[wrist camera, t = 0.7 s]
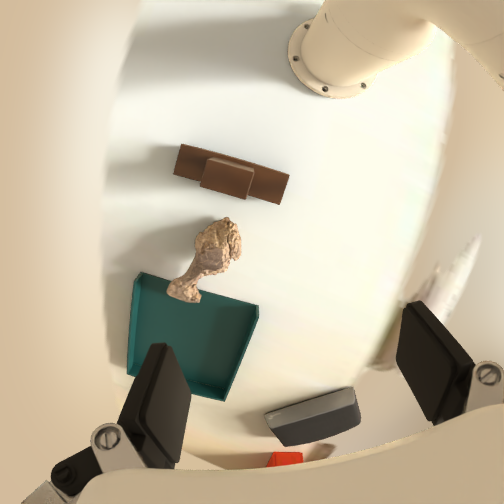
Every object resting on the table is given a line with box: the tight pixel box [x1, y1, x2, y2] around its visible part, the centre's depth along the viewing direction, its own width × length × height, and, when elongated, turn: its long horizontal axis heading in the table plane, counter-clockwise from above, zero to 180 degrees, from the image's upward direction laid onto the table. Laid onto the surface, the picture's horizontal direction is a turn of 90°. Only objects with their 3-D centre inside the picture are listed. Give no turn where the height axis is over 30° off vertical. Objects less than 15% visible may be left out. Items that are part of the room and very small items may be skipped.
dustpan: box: [127, 272, 259, 402], centre depth 47 cm, size 31×19×3 cm, turn 163°
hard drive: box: [264, 387, 361, 447], centre depth 53 cm, size 13×19×4 cm
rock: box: [166, 217, 241, 303], centre depth 38 cm, size 6×14×7 cm, turn 141°
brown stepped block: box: [173, 144, 290, 205], centre depth 33 cm, size 4×14×9 cm, turn 73°
